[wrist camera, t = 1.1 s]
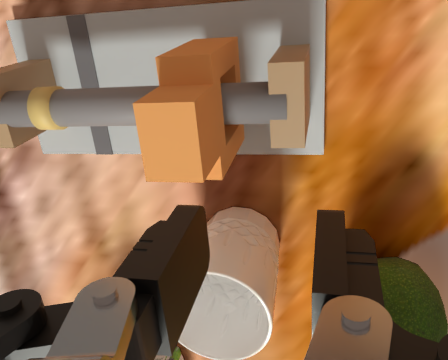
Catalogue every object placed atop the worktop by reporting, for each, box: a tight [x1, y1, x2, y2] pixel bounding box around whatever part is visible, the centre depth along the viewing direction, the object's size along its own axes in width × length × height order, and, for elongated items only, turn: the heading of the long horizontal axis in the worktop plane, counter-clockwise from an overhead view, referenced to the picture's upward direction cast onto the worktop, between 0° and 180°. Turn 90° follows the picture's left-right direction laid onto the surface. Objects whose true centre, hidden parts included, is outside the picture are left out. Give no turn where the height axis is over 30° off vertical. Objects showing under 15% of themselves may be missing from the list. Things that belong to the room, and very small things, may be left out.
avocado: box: [377, 257, 448, 343], centre depth 31 cm, size 8×8×12 cm
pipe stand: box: [0, 0, 326, 155], centre depth 30 cm, size 24×11×8 cm, turn 95°
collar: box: [133, 36, 245, 183], centre depth 25 cm, size 3×7×10 cm, turn 5°
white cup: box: [178, 207, 280, 360], centre depth 34 cm, size 8×8×10 cm
